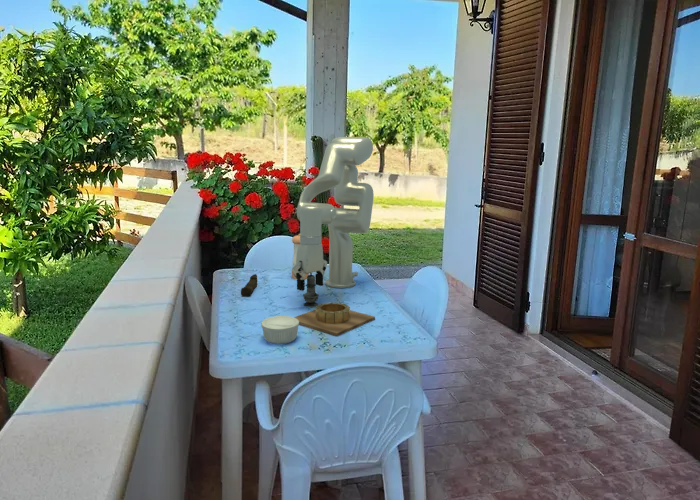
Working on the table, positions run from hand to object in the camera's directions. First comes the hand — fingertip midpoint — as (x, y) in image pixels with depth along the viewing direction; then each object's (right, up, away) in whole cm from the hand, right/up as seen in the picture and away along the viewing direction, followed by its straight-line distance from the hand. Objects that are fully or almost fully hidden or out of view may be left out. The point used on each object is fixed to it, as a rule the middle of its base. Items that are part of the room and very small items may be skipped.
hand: (310, 287), depth 185 cm
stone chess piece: (0, -7, +2) cm, 7 cm away
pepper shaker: (-7, +1, +39) cm, 40 cm away
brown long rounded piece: (-25, -3, +19) cm, 32 cm away
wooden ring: (+9, -10, -14) cm, 19 cm away
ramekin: (-7, -13, -30) cm, 34 cm away
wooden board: (+9, -10, -14) cm, 19 cm away
